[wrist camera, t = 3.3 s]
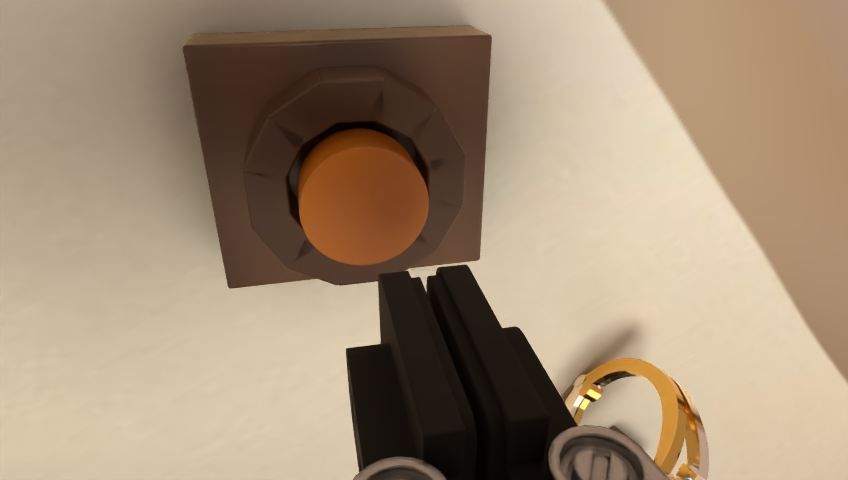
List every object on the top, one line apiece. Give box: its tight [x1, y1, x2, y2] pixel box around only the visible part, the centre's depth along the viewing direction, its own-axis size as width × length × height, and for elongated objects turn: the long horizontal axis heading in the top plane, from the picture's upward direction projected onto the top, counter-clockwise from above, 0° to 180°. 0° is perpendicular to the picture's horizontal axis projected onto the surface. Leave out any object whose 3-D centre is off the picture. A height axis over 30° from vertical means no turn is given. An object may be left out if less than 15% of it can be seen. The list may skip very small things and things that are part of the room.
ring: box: [565, 358, 709, 480], centre depth 25 cm, size 7×3×8 cm, turn 142°
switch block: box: [182, 25, 492, 288], centre depth 19 cm, size 9×8×4 cm
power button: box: [297, 128, 429, 265], centre depth 16 cm, size 4×4×2 cm
